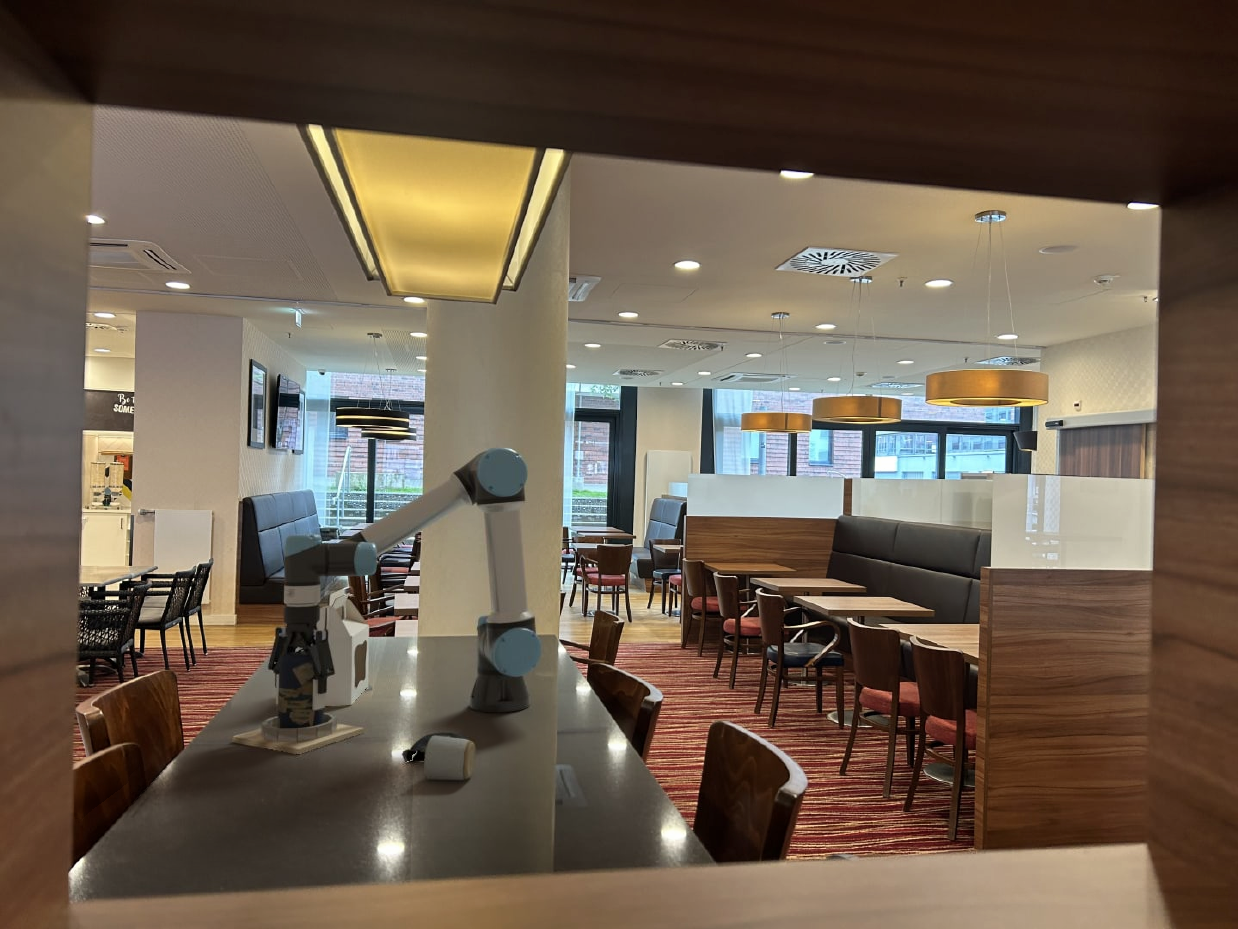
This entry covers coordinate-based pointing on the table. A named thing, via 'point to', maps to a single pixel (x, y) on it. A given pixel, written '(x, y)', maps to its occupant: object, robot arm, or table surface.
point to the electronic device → (425, 744)
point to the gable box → (345, 649)
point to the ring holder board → (297, 745)
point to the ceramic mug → (449, 758)
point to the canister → (297, 692)
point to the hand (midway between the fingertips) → (300, 706)
